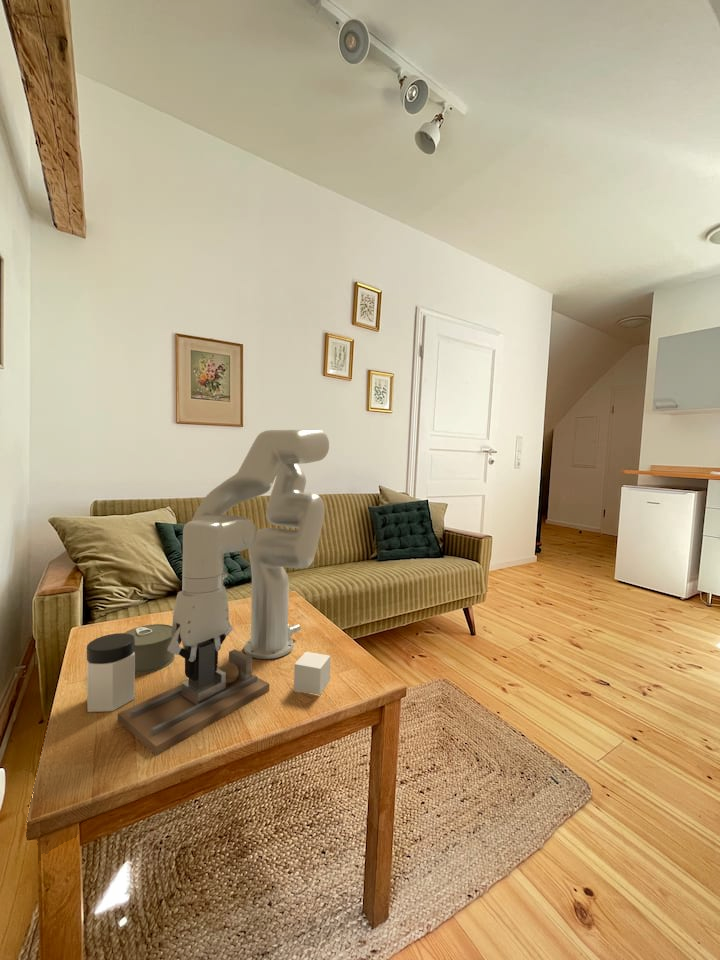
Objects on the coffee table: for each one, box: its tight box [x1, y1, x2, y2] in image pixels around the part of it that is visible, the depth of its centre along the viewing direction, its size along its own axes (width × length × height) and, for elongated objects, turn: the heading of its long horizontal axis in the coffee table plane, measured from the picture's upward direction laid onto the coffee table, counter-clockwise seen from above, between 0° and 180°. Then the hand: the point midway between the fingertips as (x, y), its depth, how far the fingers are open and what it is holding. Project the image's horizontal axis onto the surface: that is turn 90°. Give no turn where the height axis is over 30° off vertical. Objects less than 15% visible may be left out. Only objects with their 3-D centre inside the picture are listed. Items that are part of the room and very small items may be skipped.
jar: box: [86, 632, 136, 713], centre depth 79 cm, size 9×8×12 cm
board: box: [117, 649, 270, 756], centre depth 78 cm, size 24×14×6 cm, turn 144°
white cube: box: [293, 651, 332, 695], centre depth 86 cm, size 6×6×6 cm
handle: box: [180, 640, 226, 705], centre depth 79 cm, size 6×6×10 cm
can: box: [124, 623, 175, 676], centre depth 94 cm, size 12×12×7 cm
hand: (201, 672), depth 78 cm, fingers closed on handle, 3 cm apart
